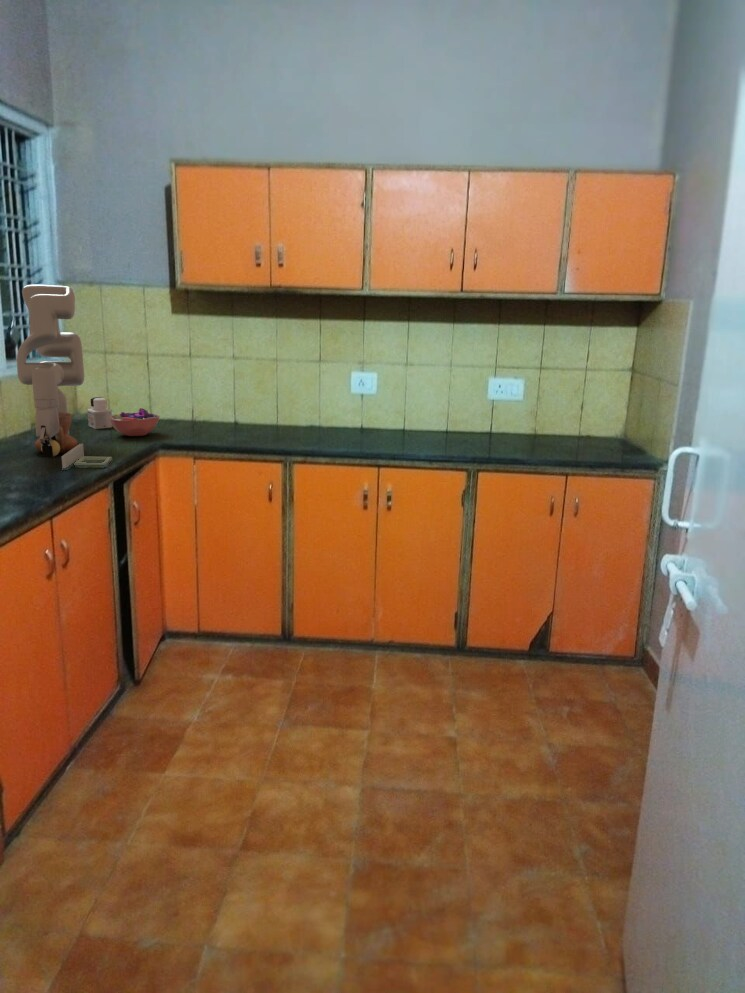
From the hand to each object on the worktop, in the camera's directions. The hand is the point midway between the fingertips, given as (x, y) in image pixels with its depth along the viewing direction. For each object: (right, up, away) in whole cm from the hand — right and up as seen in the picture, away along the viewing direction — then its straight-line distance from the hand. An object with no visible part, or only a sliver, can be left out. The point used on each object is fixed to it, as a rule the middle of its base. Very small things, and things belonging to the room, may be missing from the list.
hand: (51, 454), depth 238 cm
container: (-9, +16, +66) cm, 68 cm away
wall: (+7, -3, +2) cm, 8 cm away
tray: (+14, -4, +2) cm, 15 cm away
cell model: (+12, +11, +52) cm, 54 cm away
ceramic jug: (-6, +2, +17) cm, 18 cm away
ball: (0, +2, -1) cm, 2 cm away
